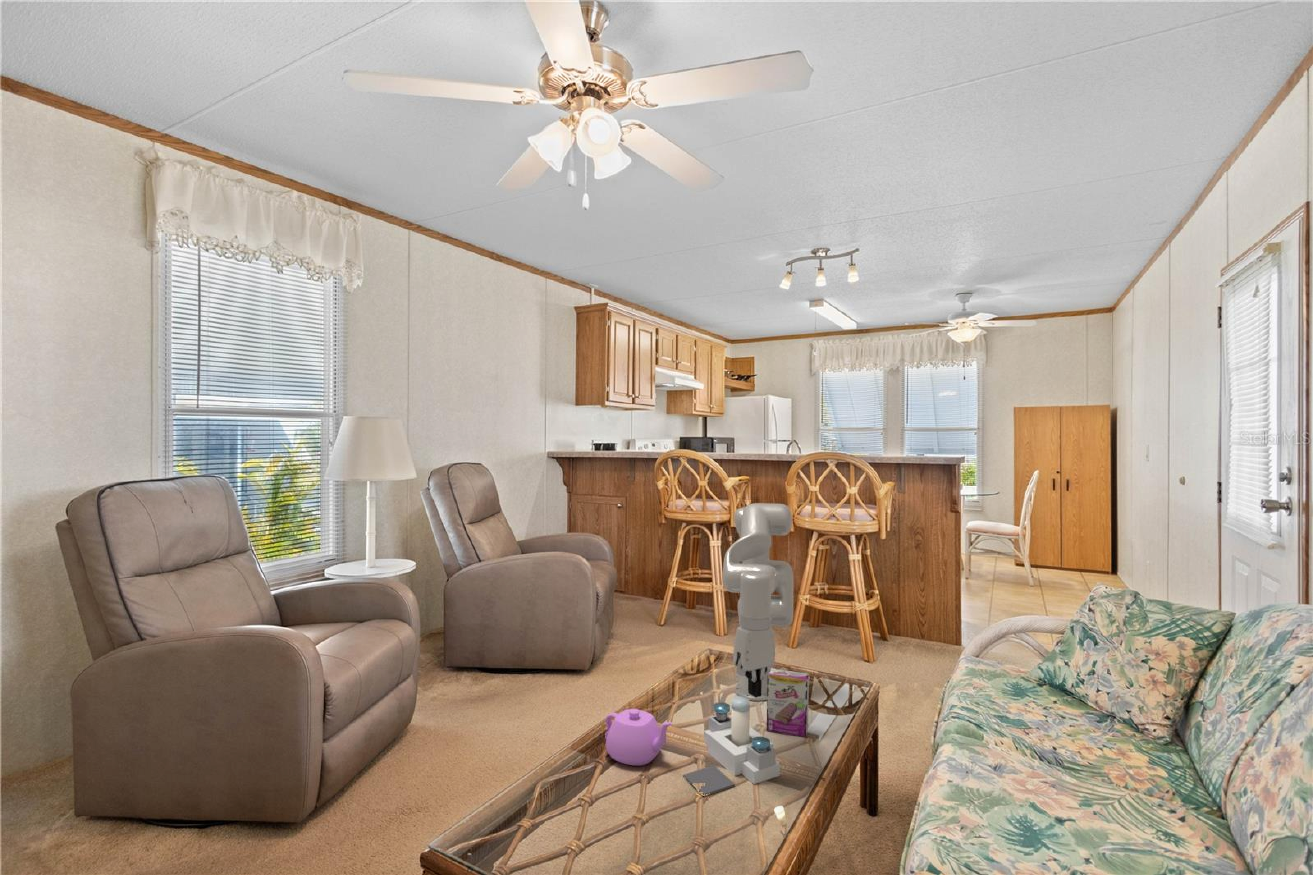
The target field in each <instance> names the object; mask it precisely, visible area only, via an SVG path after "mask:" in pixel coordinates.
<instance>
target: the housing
mask: <svg viewBox="0 0 1313 875" xmlns="http://www.w3.org/2000/svg"><path fill="white" fill-rule="evenodd" d="M759 736H760V737H765V736H764V735H762V734H761V733H760V732H758V731H757V730H756V729H754V728H752V727H751V726H750V725H749V744H746V745H743V746H739V747H737V746H736V745H735V744H733V743H732V742H731V717H730V716H729V715H727V721H726V722H723V723H719V722H718V721H716V714H715V715H712V716H708V729H707V730H703V742H704V743H705V744H706V745H707V753H708V755H710V756H711V757H712V758H714V759H715V760H716V761H717V762H718V763H719V764H721V765H722V767H724V768H725V769H726V770H727V771H729V772H730V774H732V775H733V776H734V777H736V776H739V775H743V777H744V778H746V779H747V780H748V781H750V783H752V784H753V785H757V784H758V783H762V782H765V781H768V780H770V779H774V778H776V777H779V776H781V762H779V761H778V760H777V758H776V757H777V756H776V754H777V753H776V752H777V751H776V750H775V749H774V748H775V747H774V743H773V742H772V741H771V740H770V748H769V749H767V752H764V753H761V754H759V753H758V752H757V751H755V748H754V747H753V746H752V739H753V738H754V737H759Z"/></svg>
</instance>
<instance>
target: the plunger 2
mask: <svg viewBox="0 0 1313 875" xmlns="http://www.w3.org/2000/svg"><path fill="white" fill-rule="evenodd" d="M770 741H771V740H770V739H769V738H768V737H765V736H764V737H760V736H759V737H754V738H753V739H752V746H753V747H754V748H755V751H757V752H758V753H759V754H761V753H764V752H767V749H769V748H770Z"/></svg>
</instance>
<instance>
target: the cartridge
mask: <svg viewBox="0 0 1313 875" xmlns="http://www.w3.org/2000/svg"><path fill="white" fill-rule="evenodd" d="M750 702H751V700H749V699H748V698H746V697H741V696H738V695H737V696H734V697H732V698H731V717H730V718H731V742H732V743H733V744H735V745H736V746H737V747H739V746H743V745H746V744H749V726H750V710H751V708H750V705H751V704H750Z"/></svg>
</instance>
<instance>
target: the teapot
mask: <svg viewBox="0 0 1313 875" xmlns="http://www.w3.org/2000/svg"><path fill="white" fill-rule="evenodd" d="M611 718H614V719H613V721H612V722H611ZM605 724H606V730H607V731H605V733H604V737H605V741H606V743H605V748H606V752H607V753H608V755H609V756H610V758H612V759H613V760H614V761H616V762H619V763H621V764H623V765H624V764H625V765H628V766H629V765H630V766H637V767H638V766H640V767H641V766H645V765H647V764H649V763H650V762H652V761H653V760H654V759H655V758H656V757H657V755H659V753H660V751H661V749H662V748H663V747H664V746H665V744H666V742H667V731H668V727H669V726H670V725H673V722H672V721H666V722H663V723H662V724H661V725H660V726H659V725H658V722H657V720H656V719H655V717H654V715H653V714H651V713H650V712H648V711H644V710H639V709H638V708H630V709H629V708H628V709H625V710H622V711H621V712H619V713H618V712H610V713H608V715H607V716H606V717H605Z"/></svg>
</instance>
